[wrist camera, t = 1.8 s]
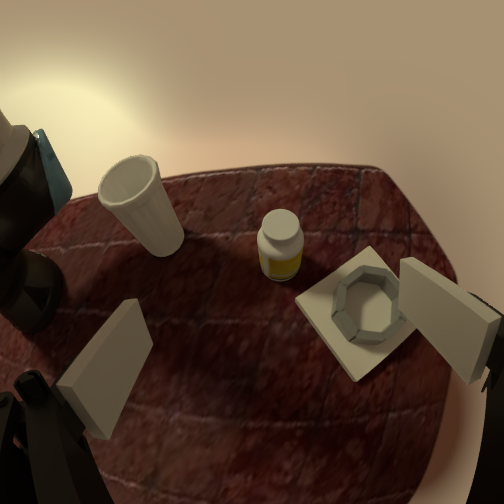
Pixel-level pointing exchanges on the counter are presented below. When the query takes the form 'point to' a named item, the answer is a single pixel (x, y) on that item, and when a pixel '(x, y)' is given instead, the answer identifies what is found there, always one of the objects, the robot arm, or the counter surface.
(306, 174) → the counter surface
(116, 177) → the cup
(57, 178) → the robot arm
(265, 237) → the supplement bottle
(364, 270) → the holder
